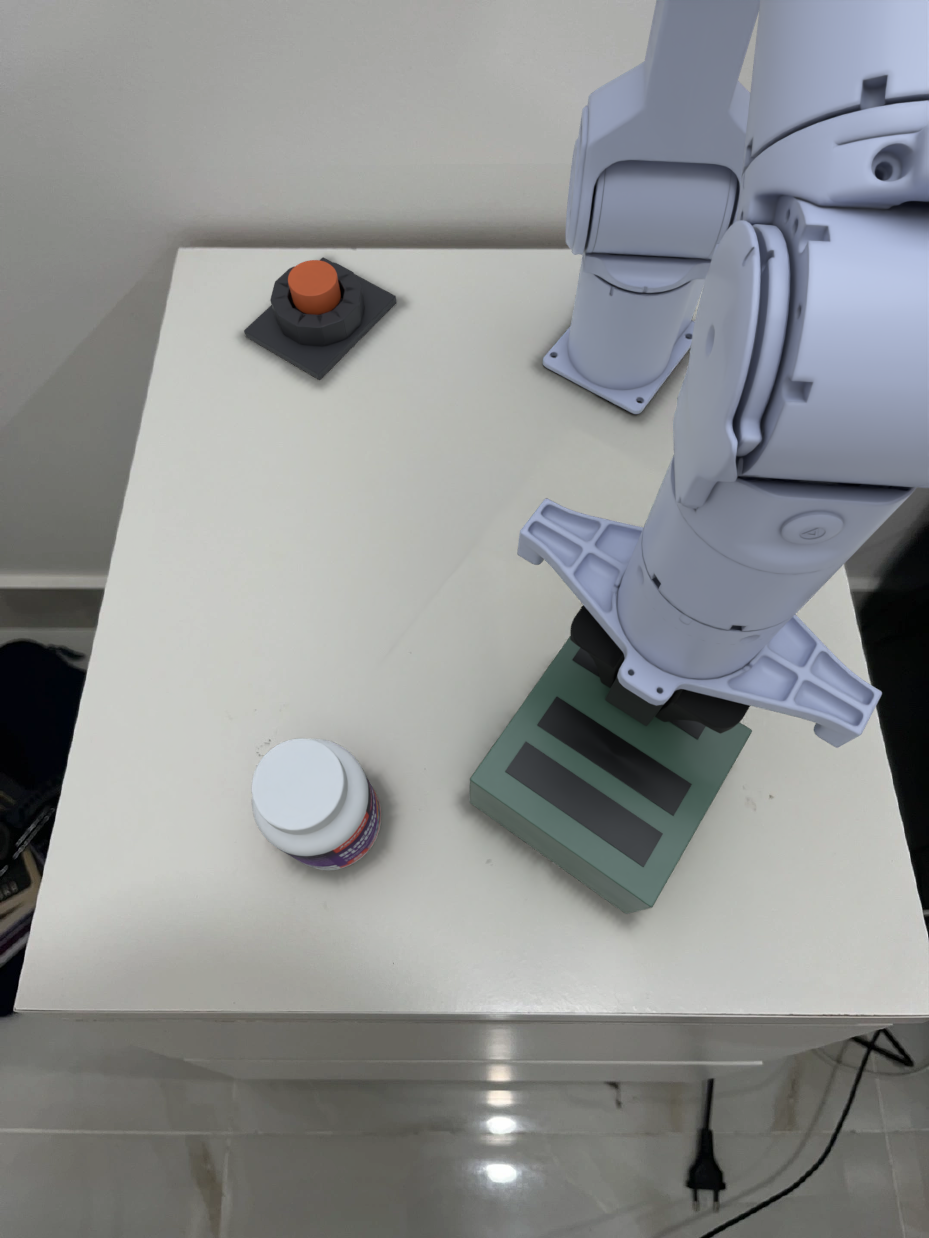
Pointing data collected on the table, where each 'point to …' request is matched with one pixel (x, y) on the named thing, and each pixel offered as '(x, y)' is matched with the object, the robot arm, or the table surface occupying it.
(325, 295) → the button
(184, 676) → the table surface
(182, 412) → the table surface
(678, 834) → the toaster
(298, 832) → the pill bottle
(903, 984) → the table surface
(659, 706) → the toaster slider
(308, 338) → the control pad
